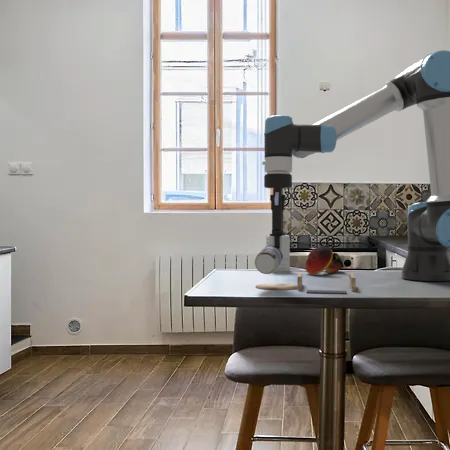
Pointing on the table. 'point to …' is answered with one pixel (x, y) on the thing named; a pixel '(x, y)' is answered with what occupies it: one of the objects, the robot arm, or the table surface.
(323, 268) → the dark red rounded pieces
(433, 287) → the table surface
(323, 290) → the pad
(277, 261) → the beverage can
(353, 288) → the channel
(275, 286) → the coaster
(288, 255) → the supplement box
